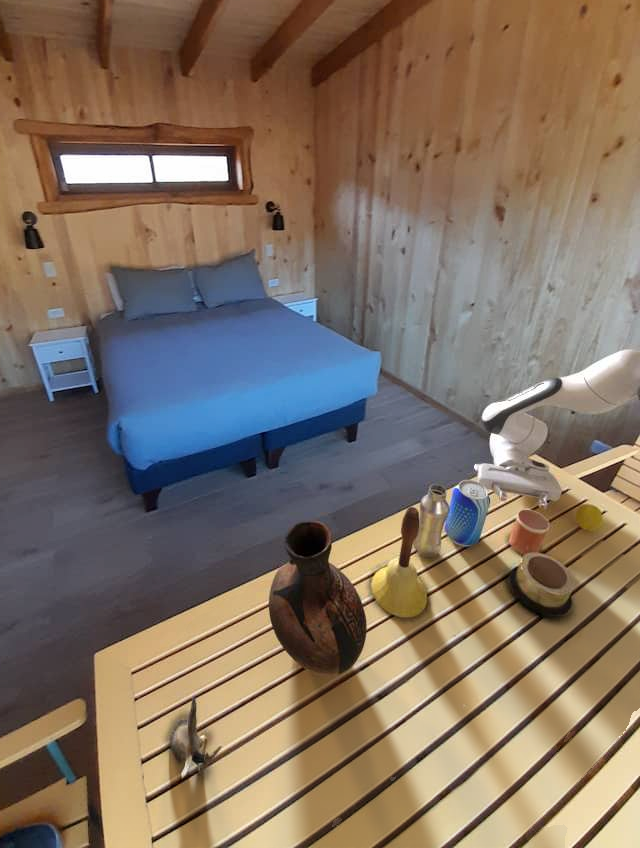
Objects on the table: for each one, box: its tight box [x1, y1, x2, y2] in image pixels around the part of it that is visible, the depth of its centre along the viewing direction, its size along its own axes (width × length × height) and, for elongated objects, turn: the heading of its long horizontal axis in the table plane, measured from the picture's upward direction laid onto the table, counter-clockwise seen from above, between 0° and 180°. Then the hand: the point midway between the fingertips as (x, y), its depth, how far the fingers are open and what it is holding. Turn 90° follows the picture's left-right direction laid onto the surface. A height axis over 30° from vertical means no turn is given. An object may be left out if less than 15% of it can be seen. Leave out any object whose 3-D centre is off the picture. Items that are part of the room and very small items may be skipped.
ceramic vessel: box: [268, 520, 368, 676], centre depth 75 cm, size 21×18×30 cm
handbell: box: [370, 506, 428, 618], centre depth 85 cm, size 12×12×25 cm
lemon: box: [574, 503, 604, 532], centre depth 103 cm, size 6×6×8 cm
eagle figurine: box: [169, 695, 222, 779], centre depth 66 cm, size 8×7×9 cm
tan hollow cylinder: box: [507, 552, 575, 620], centre depth 88 cm, size 12×12×8 cm
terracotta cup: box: [508, 508, 550, 556], centre depth 99 cm, size 7×7×9 cm
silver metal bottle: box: [412, 483, 450, 558], centre depth 96 cm, size 6×7×20 cm
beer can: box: [444, 479, 491, 547], centre depth 101 cm, size 8×8×16 cm
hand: (523, 502), depth 105 cm, fingers open, 8 cm apart
